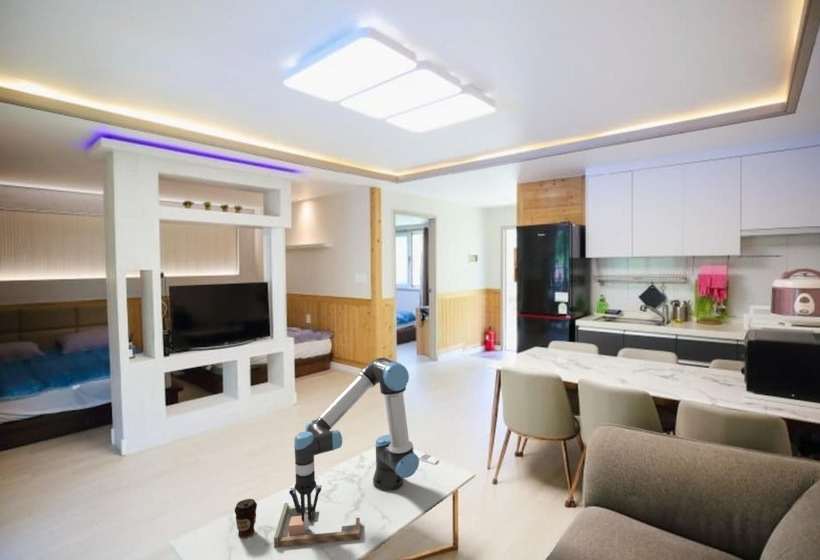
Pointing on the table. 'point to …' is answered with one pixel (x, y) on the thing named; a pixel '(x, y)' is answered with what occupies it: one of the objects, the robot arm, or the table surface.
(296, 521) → the block
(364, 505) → the table surface
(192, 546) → the table surface
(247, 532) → the coffee cup
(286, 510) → the trap box
